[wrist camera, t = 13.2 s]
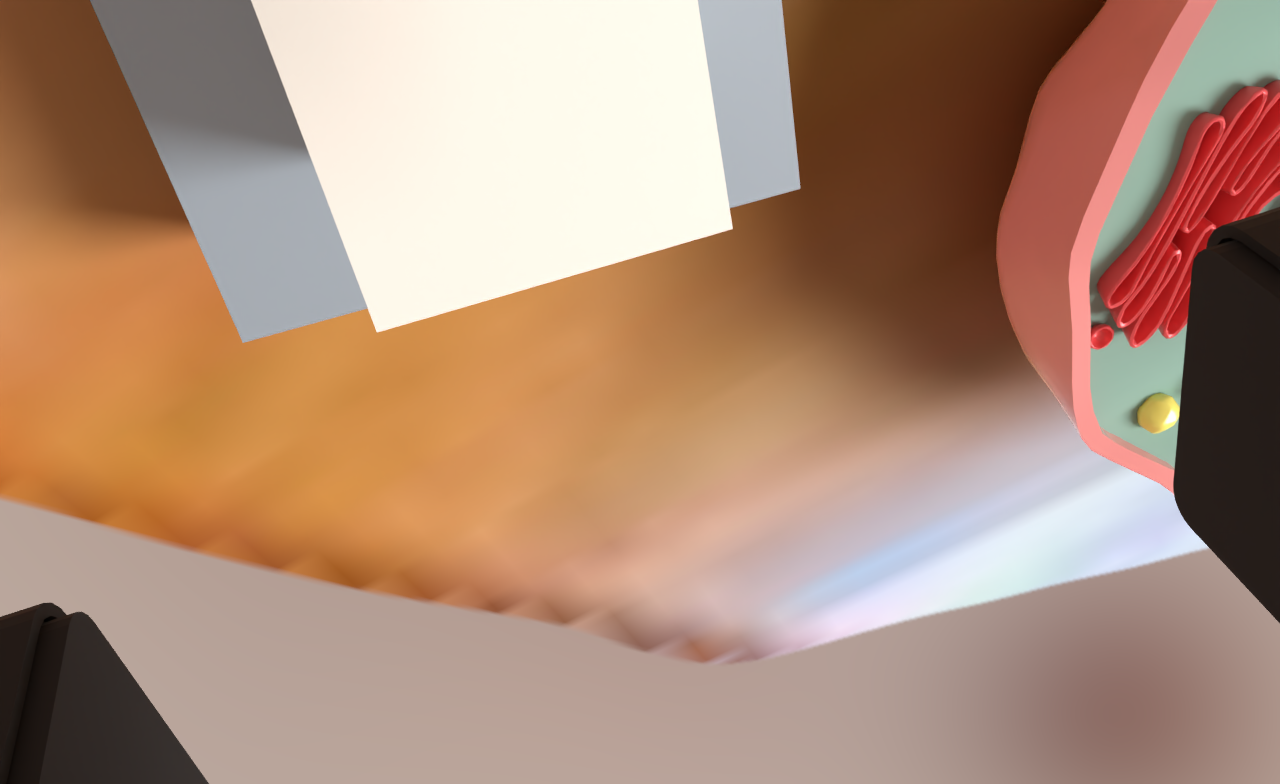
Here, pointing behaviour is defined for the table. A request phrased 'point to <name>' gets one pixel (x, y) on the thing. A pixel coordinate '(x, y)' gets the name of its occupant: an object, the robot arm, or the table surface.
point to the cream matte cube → (500, 138)
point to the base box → (285, 175)
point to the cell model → (1136, 206)
